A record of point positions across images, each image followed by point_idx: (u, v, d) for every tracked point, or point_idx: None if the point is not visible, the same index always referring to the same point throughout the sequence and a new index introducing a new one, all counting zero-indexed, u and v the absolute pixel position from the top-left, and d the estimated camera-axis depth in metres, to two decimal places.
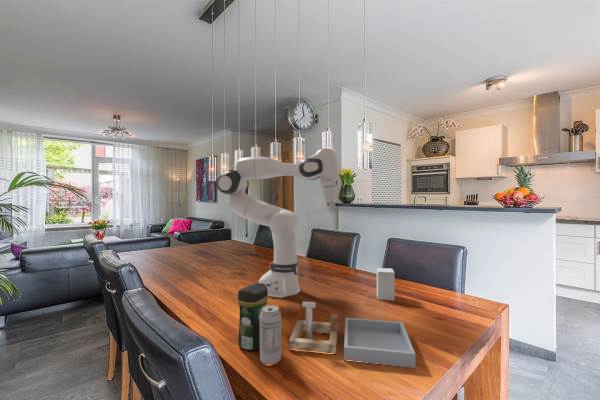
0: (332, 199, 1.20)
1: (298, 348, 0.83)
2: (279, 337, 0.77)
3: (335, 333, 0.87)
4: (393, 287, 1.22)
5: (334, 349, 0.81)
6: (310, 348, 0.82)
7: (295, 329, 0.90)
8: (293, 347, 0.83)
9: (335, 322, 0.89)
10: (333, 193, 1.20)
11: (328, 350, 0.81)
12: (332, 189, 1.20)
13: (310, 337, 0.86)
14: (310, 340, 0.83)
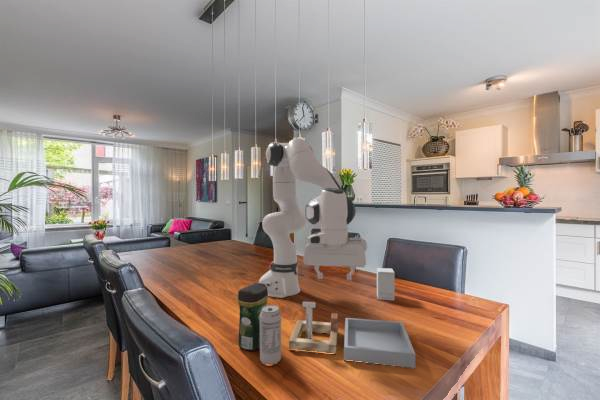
0: None
1: (298, 348, 0.83)
2: (279, 337, 0.77)
3: (335, 333, 0.87)
4: (393, 287, 1.22)
5: (334, 349, 0.81)
6: (310, 348, 0.82)
7: (295, 329, 0.90)
8: (293, 347, 0.83)
9: (335, 322, 0.89)
10: (304, 253, 0.91)
11: (328, 350, 0.81)
12: (305, 247, 0.91)
13: (310, 337, 0.86)
14: (310, 340, 0.83)
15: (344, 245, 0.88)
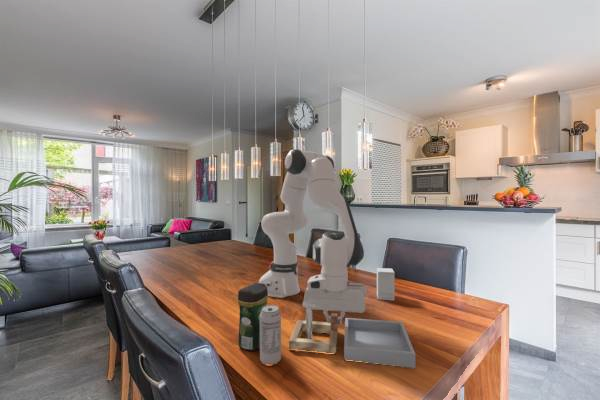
0: None
1: (298, 348, 0.83)
2: (279, 337, 0.77)
3: (335, 333, 0.87)
4: (393, 287, 1.22)
5: (334, 349, 0.81)
6: (310, 348, 0.82)
7: (295, 329, 0.90)
8: (293, 347, 0.83)
9: (335, 322, 0.89)
10: (304, 297, 0.91)
11: (328, 350, 0.81)
12: (305, 291, 0.91)
13: (310, 337, 0.86)
14: (310, 340, 0.83)
15: (344, 290, 0.89)
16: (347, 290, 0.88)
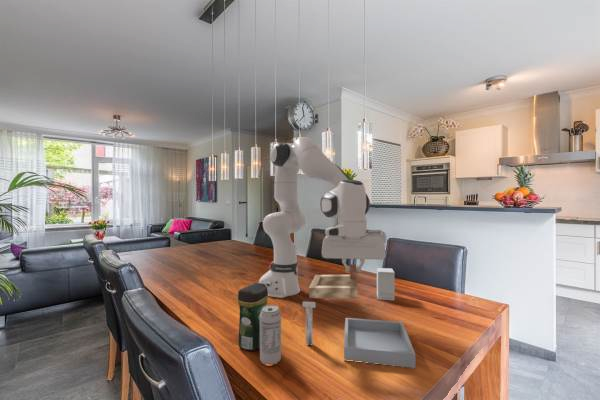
0: None
1: (319, 295, 0.81)
2: (279, 337, 0.77)
3: (355, 280, 0.85)
4: (393, 287, 1.22)
5: (356, 292, 0.79)
6: (330, 293, 0.80)
7: (314, 280, 0.88)
8: (313, 294, 0.81)
9: (354, 270, 0.87)
10: (322, 246, 0.89)
11: (350, 294, 0.79)
12: (323, 240, 0.90)
13: (310, 337, 0.86)
14: (330, 286, 0.82)
15: (363, 237, 0.87)
16: (366, 237, 0.87)
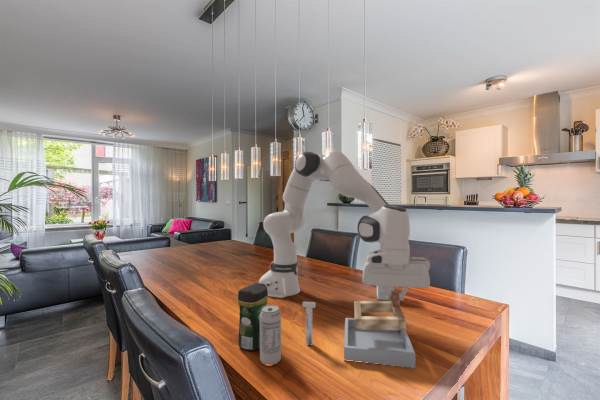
0: None
1: (365, 326, 0.79)
2: (279, 337, 0.77)
3: (399, 309, 0.84)
4: (393, 287, 1.22)
5: (404, 324, 0.77)
6: (377, 325, 0.78)
7: (356, 309, 0.86)
8: (360, 325, 0.79)
9: (397, 298, 0.85)
10: (364, 272, 0.87)
11: (398, 325, 0.77)
12: (364, 267, 0.88)
13: (310, 337, 0.86)
14: (376, 317, 0.80)
15: (407, 265, 0.85)
16: (410, 264, 0.85)
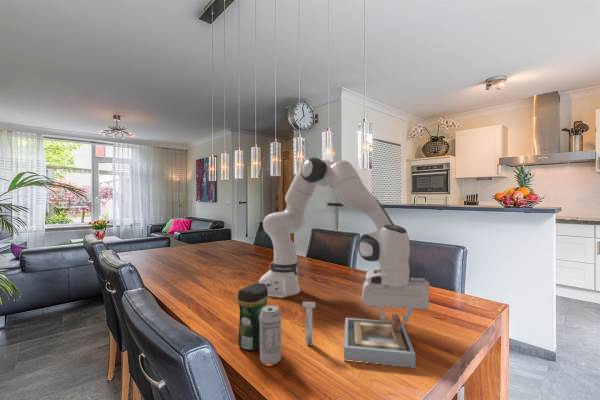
0: (362, 300, 0.88)
1: None
2: (279, 337, 0.77)
3: (400, 335, 0.84)
4: None
5: None
6: None
7: (356, 331, 0.87)
8: None
9: (398, 324, 0.86)
10: (363, 292, 0.88)
11: None
12: (364, 287, 0.88)
13: (310, 337, 0.86)
14: (377, 342, 0.80)
15: (406, 286, 0.85)
16: (409, 286, 0.85)
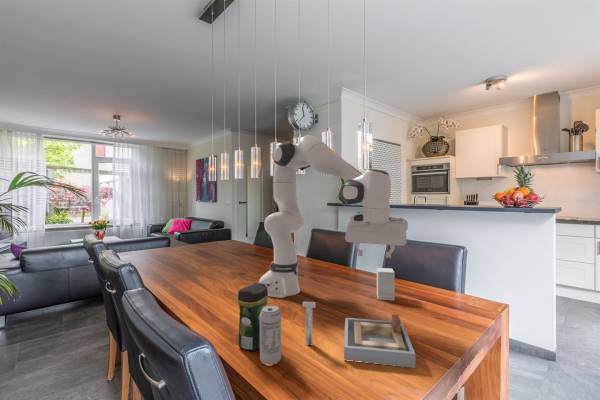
0: (345, 237, 0.95)
1: None
2: (279, 337, 0.77)
3: (400, 335, 0.84)
4: (393, 287, 1.22)
5: None
6: None
7: (356, 331, 0.87)
8: None
9: (398, 324, 0.86)
10: (346, 230, 0.95)
11: None
12: (347, 225, 0.95)
13: (310, 337, 0.86)
14: (377, 342, 0.80)
15: (386, 224, 0.92)
16: (389, 224, 0.92)
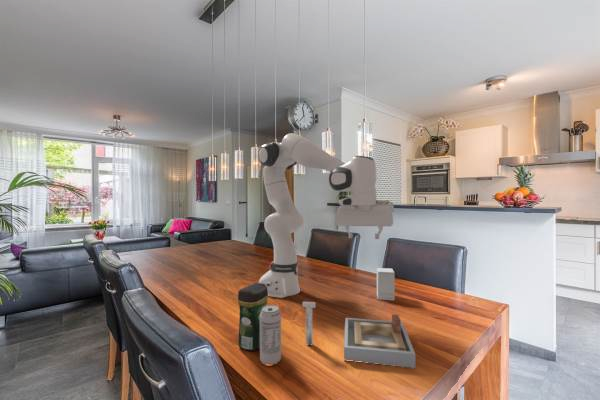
0: None
1: None
2: (279, 337, 0.77)
3: (400, 335, 0.84)
4: (393, 287, 1.22)
5: None
6: None
7: (356, 331, 0.87)
8: None
9: (398, 324, 0.86)
10: (336, 214, 1.00)
11: None
12: None
13: (310, 337, 0.86)
14: (377, 342, 0.80)
15: (373, 207, 0.98)
16: (376, 206, 0.97)
